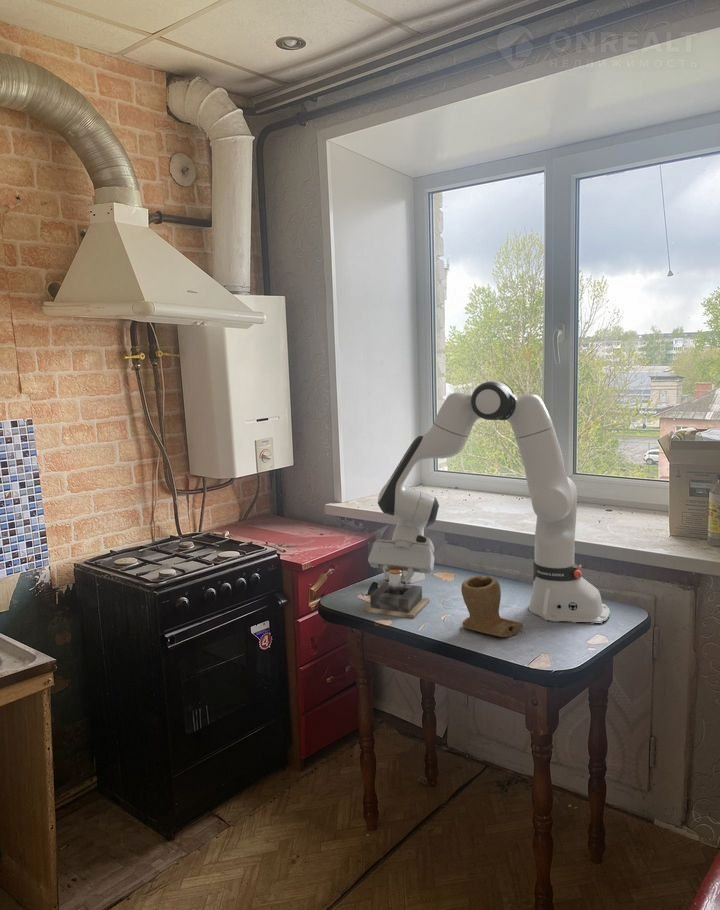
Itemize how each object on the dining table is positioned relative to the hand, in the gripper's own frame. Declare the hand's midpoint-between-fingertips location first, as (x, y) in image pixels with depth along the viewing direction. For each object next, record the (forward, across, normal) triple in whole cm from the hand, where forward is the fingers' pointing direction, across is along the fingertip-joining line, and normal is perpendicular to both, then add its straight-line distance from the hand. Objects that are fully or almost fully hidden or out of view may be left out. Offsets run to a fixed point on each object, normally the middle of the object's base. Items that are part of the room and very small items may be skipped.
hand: (395, 582), depth 203 cm
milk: (-12, -4, +24) cm, 27 cm away
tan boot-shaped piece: (+12, +30, 0) cm, 32 cm away
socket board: (+5, 0, +6) cm, 8 cm away
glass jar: (+3, 0, +4) cm, 4 cm away
